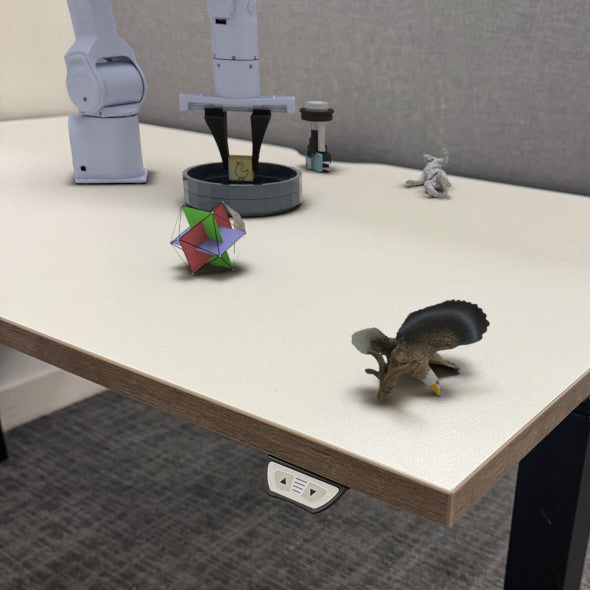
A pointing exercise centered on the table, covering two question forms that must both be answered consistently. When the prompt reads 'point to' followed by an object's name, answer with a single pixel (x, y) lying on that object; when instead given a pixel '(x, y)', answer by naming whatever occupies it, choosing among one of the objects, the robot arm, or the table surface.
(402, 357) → the eagle figurine
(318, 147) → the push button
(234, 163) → the alphabet block
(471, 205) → the table surface
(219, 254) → the geometric puzzle
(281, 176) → the bowl
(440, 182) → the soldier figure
